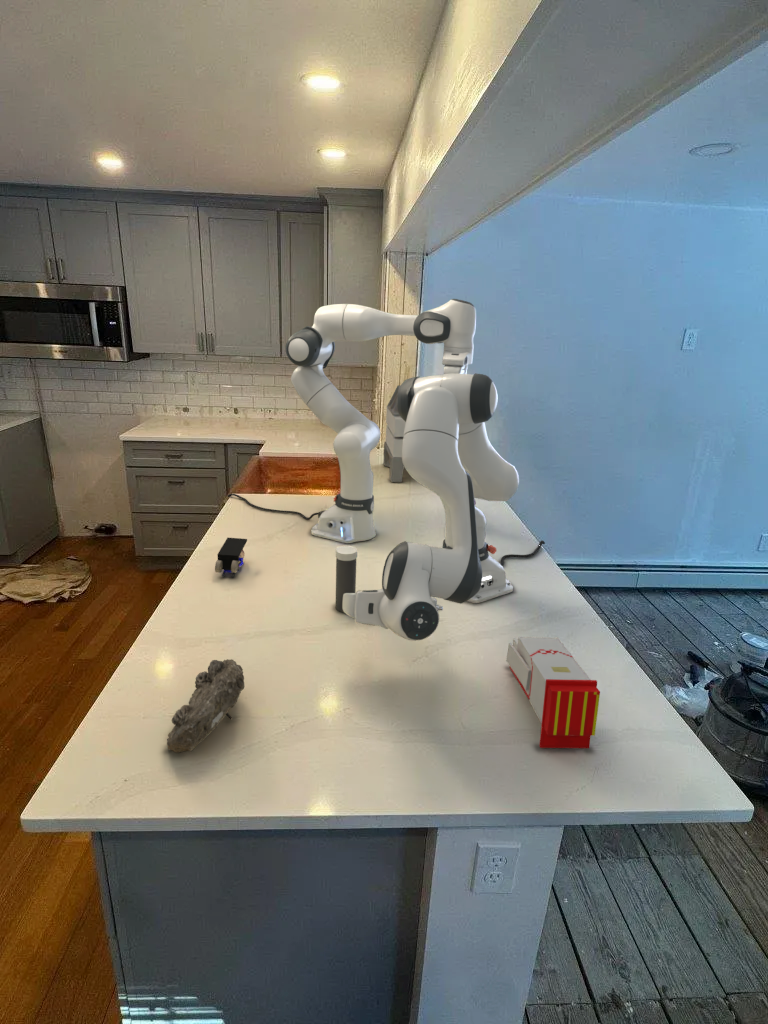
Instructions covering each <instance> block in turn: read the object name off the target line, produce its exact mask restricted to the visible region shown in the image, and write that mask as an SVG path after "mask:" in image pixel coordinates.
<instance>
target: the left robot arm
mask: <svg viewBox="0 0 768 1024" xmlns="http://www.w3.org/2000/svg"><path fill="white" fill-rule="evenodd" d="M476 327H477V309H476V306H475V305H474V304H473V303H472V302H470V301H467V300H463V299H458V298H451V299H450V300H448V301H447V302H445V303H444V304H441V305H439V306H437V307H435V308H431V309H427V310H424V311H422V312H421V313H419V314H399V313H391V312H386V311H383V310H380V309H377V308H374V307H370V306H366V305H361V304H355V303H335V304H327V305H322V306H320V307H318V308H317V309H316V311H315V313H314V317H313V325H312V326H310V325H306V326H305V327H303V328H301V329H299V330H298V331H295V333H293V334H292V335H291V336H290V337H289V338H288V339H287V340H286V344H285V354H286V357H287V359H289V361H290V362H292V364H294V365H296V366H297V367H295V369H294V370H293V371H292V373H291V375H290V380H291V381H290V383H291V384H292V386H293V388H294V390H295V391H296V393H297V395H298V396H299V397H300V399H301V400H302V401H303V403H304V404H305V405H306V407H307V408H308V409H309V410H310V411H311V412H312V413H313V415H314V416H315V417H316V418H317V419H318V420H319V422H320V423H321V424H323V425H324V426H326V427H328V428H330V429H331V430H332V431H334V432H335V433H336V436H335V438H334V439H333V443H332V446H333V448H332V449H333V451H334V454H335V455H336V457H337V462H338V466H339V473H340V488H339V489H340V490H339V491H338V492H337V494H336V495H335V496H334V497H333V502H334V504H333V505H331V506H329V507H328V508H326V509H323V510H321V511H317V512H313V513H311V515H310V516H309V517H308V516H307V517H306V516H305V515H304V514H303V513H302V512H299V511H294V510H283V509H281V510H280V509H273V508H266V507H262V506H258V505H256V504H253V503H251V502H250V501H248V499H246V498H245V497H242V495H240V494H239V495H238V494H237V493H229V494H228V495H227V496H226V497H227V498H230V497H233V496H234V497H236V498H239V499H240V500H242V501H244V502H245V503H246V504H247V505H249V506H251V507H253V508H255V509H258V510H262V511H267V512H273V513H282V514H283V513H285V514H295V515H299V516H301V518H303V519H304V520H307V521H308V520H309V521H310V520H311V519H312V518H313V517H314V516H317V519H318V521H317V523H315V524H314V525H313V526H312V528H311V530H310V533H311V536H315V537H319V538H323V539H326V540H330V541H336V542H339V543H343V544H352V543H357V542H365V541H368V540H372V539H373V538H375V537H376V535H377V532H376V528H375V523H374V513H373V512H374V509H375V496H374V472H373V470H372V466H371V465H372V464H371V460H370V459H371V457H370V455H371V452H372V451H373V450H374V449H376V448H377V446H378V445H379V442H380V439H381V436H382V435H381V429H380V427H379V425H378V424H377V423H376V422H375V421H373V420H371V419H369V418H368V417H366V415H364V414H363V413H362V412H361V411H360V410H358V409H357V408H356V407H355V406H353V404H352V403H350V402H349V400H347V399H346V398H345V397H344V396H343V394H342V393H341V392H340V391H339V389H338V388H337V387H336V386H335V385H334V384H333V382H332V381H331V380H330V379H329V378H328V377H327V376H326V374H325V372H324V369H326V368H327V366H328V365H329V362H330V360H331V359H332V357H333V356H334V352H335V350H336V343H335V342H353V343H356V342H366V341H371V340H376V339H378V338H384V337H388V336H409V337H415V338H416V339H417V340H418V341H420V343H423V344H426V345H434V344H435V345H436V344H443V354H442V362H441V364H442V365H443V375H445V374H468V368H469V365H473V360H474V359H473V358H474V347H475V345H474V337H475V334H476Z"/></svg>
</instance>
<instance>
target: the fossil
mask: <svg viewBox="0 0 768 1024" xmlns="http://www.w3.org/2000/svg"><path fill="white" fill-rule="evenodd" d="M243 670H244V669H243V667H242V665H240V664H237V662H236V661H235V660H234V659H232V658H231V659H227V658H226V659H224V660H223V661H222V660H217V659H212V660H211V661H210V663H209V665H208V666H207V671H201V672H199V673H198V674H197V675H196V676H195V680H194V684H195V685H194V687H195V689H194V690H193V693H192V694H191V697H190V698H189V700H188V704H184V705H182V706H181V707H180V709H177V710H176V711H175V713H174V715H173V716H172V718H171V723H172V724H173V727H172V730H171V731H170V732H168V734H167V738H166V741H167V742H166V745H167V749H168V750H169V751H173V752H174V753H176V754H178V753H182V752H188V751H189V752H192V751H193V750H195V748H196V747H197V746H199V744H200V743H201V742H203V741H204V740H205V739H206V738H207V737H208V736H209V735H210V734H211V733H212V732H214V730H215V729H217V727H218V726H219V724H220V722H221V721H222V720H223V719H224V718H225V716H226V717H227V719H229V720H233V717H232V715H230V714H229V710H230V709H231V708H234V706H235V704H236V703H237V702H238V699H239V697H240V695H241V693H242V691H243V690H245V689H244V688H245V675H244V671H243Z"/></svg>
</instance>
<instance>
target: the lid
mask: <svg viewBox="0 0 768 1024" xmlns="http://www.w3.org/2000/svg"><path fill="white" fill-rule="evenodd" d="M336 558H337V559H339V560H342V561H351V560H354V559H356V560H357V558H358V548H357V547H356V546H353V545H349V544H348V545H346V544H344V545H339V546H337V547H335V559H336Z"/></svg>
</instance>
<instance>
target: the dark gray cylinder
mask: <svg viewBox="0 0 768 1024" xmlns="http://www.w3.org/2000/svg"><path fill="white" fill-rule="evenodd" d="M356 588H357V558H356V559H354V560H351V561H342V560H339V559H337V558H336V557H335V610H336V611H337V612H340V613H345V612H344V611H343V609H342V602H343V595H344V594H345V593H356V592H357V591H356V590H357V589H356Z"/></svg>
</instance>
